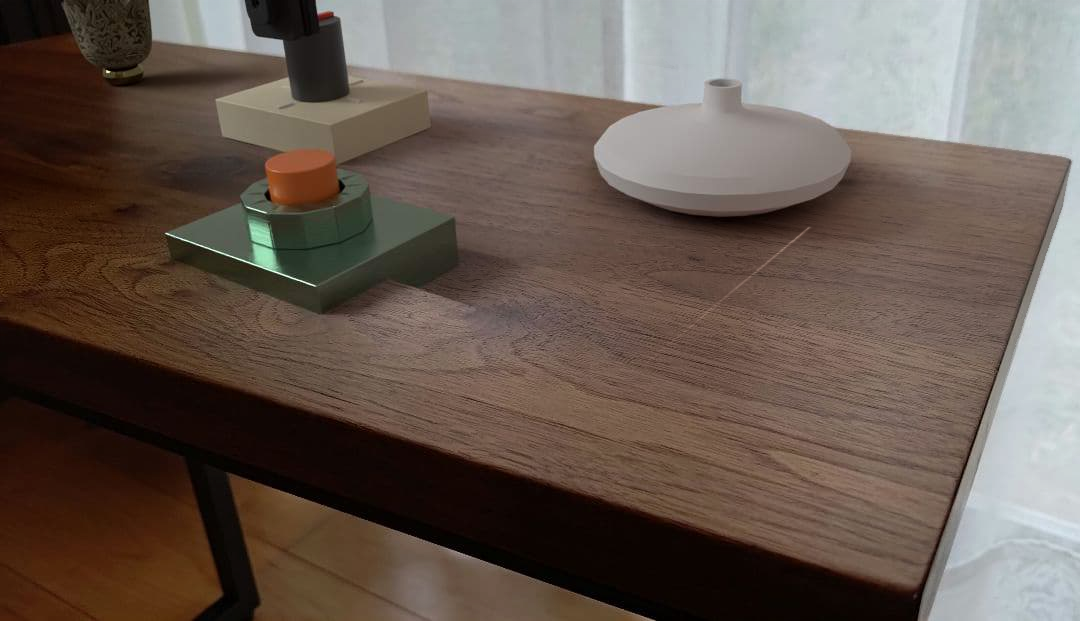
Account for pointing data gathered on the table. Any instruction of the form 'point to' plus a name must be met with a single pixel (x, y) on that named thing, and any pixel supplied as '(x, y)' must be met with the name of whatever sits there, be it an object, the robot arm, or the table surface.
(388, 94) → the dial panel
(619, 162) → the vase
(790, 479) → the table surface
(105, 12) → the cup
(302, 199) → the orange push button
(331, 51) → the dial
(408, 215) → the button base
